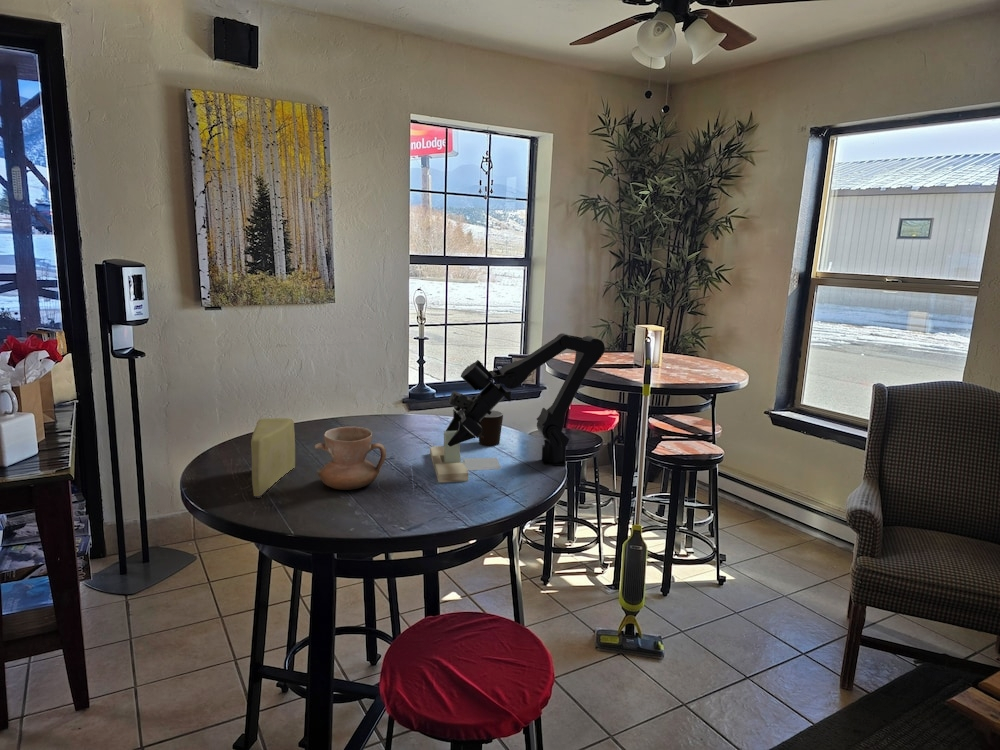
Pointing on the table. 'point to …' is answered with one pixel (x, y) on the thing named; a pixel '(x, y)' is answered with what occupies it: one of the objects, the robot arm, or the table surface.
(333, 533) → the table surface
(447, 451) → the sage block
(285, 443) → the cheese
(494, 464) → the mat
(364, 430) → the ceramic jug
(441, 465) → the block
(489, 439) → the coffee mug
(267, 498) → the table surface
